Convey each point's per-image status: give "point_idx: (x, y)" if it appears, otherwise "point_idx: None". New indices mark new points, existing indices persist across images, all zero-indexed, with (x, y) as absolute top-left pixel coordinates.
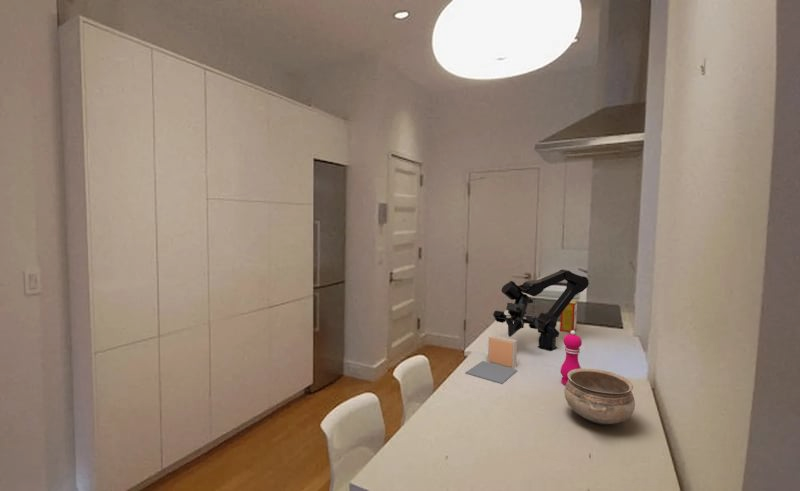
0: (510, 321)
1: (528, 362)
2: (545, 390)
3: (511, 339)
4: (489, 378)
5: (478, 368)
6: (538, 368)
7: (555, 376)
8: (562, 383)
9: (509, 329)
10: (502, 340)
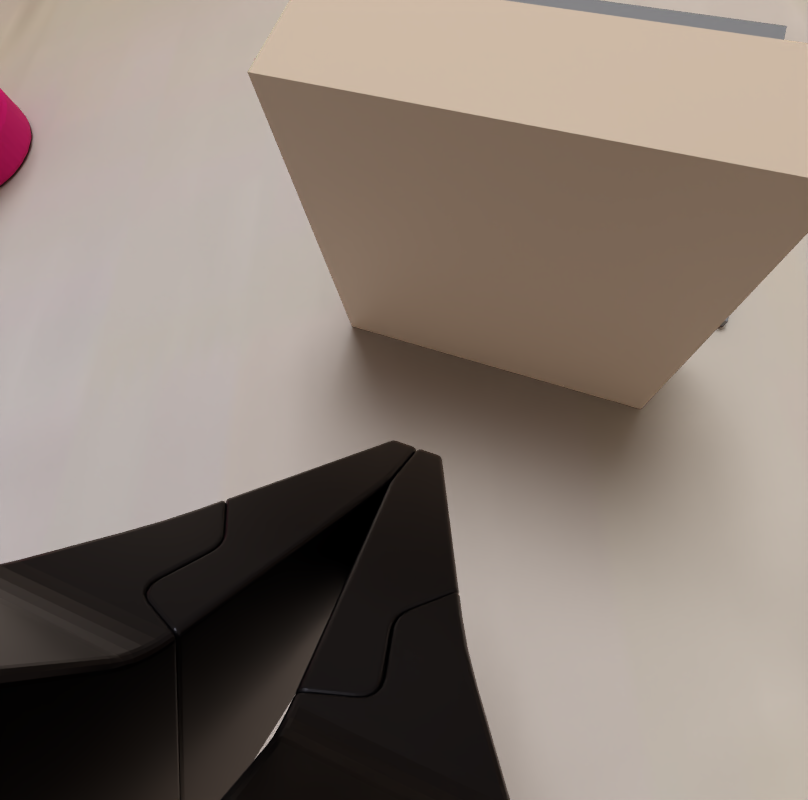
0: (283, 775)
1: (215, 486)
2: (174, 15)
3: (355, 73)
4: (559, 6)
5: None
6: (141, 356)
7: (38, 238)
8: (28, 125)
9: (403, 532)
10: (527, 20)
